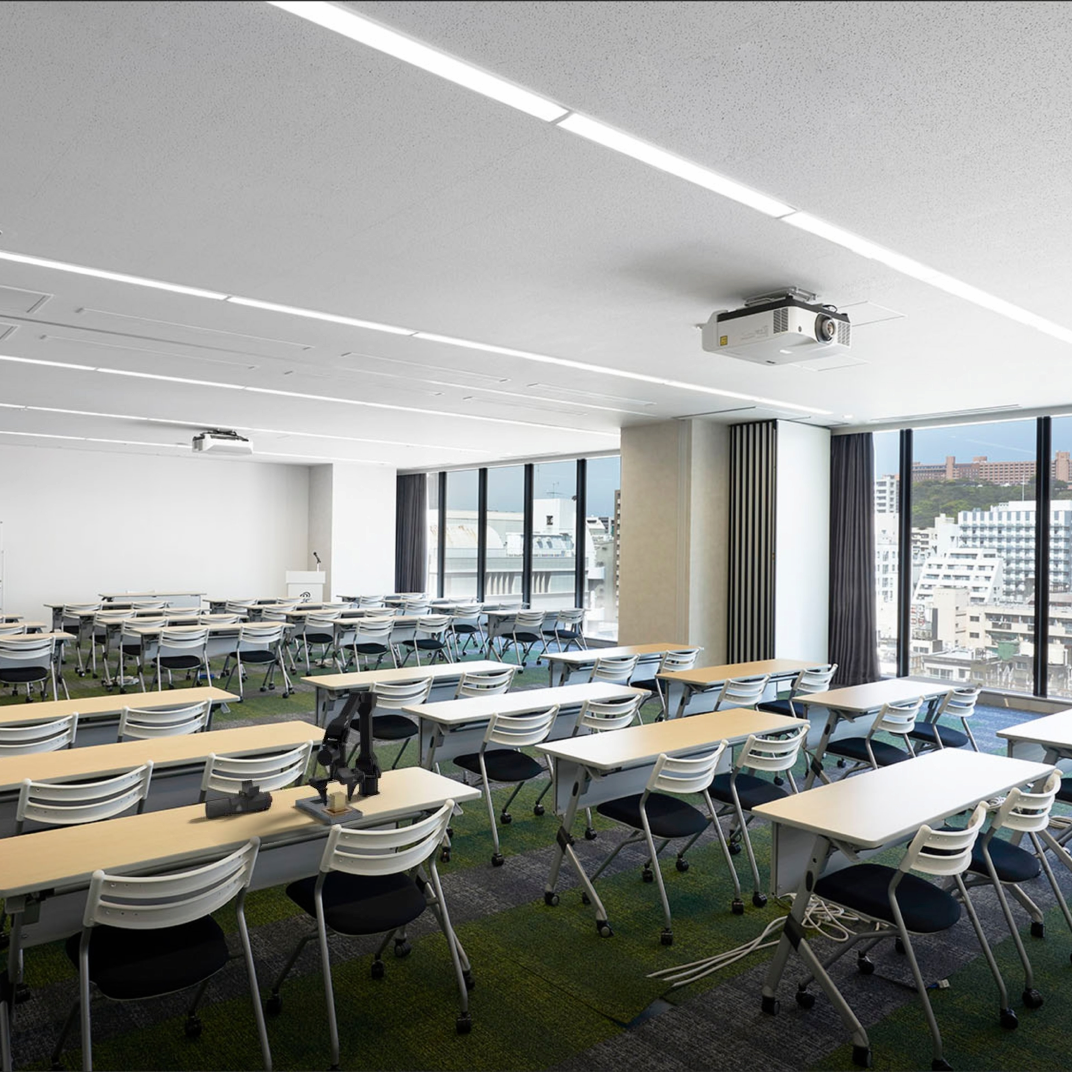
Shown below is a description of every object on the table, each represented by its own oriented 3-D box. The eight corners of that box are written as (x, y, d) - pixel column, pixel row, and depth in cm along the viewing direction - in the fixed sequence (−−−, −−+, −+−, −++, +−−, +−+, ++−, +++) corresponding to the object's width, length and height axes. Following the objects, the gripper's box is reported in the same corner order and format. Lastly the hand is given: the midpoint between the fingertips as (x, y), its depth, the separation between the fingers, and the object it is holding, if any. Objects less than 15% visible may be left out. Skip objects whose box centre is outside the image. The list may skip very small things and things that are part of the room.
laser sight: (203, 815, 299) (203, 786, 299) (267, 804, 311) (267, 777, 311) (210, 822, 290) (210, 793, 291) (275, 811, 303) (275, 783, 303)
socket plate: (325, 799, 317) (325, 793, 317) (362, 817, 295) (362, 811, 296) (295, 805, 309) (295, 799, 309) (331, 825, 288) (331, 818, 288)
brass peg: (339, 813, 300) (339, 791, 300) (345, 816, 297) (345, 793, 297) (329, 816, 297) (329, 793, 297) (334, 819, 294) (334, 796, 294)
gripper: (323, 768, 285) (323, 814, 285) (372, 759, 297) (372, 803, 297) (309, 761, 293) (308, 806, 293) (357, 753, 306) (357, 796, 305)
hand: (337, 803), depth 297 cm, fingers open, 9 cm apart
